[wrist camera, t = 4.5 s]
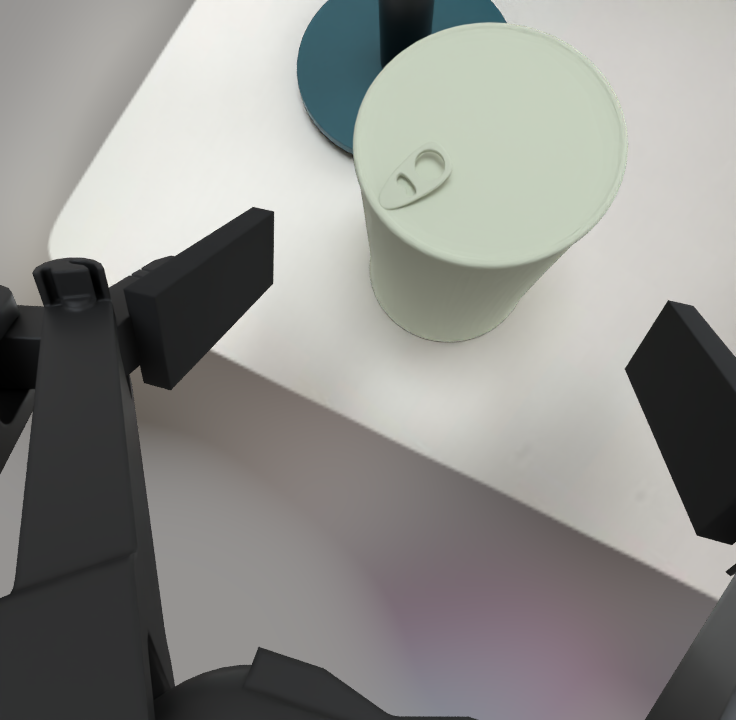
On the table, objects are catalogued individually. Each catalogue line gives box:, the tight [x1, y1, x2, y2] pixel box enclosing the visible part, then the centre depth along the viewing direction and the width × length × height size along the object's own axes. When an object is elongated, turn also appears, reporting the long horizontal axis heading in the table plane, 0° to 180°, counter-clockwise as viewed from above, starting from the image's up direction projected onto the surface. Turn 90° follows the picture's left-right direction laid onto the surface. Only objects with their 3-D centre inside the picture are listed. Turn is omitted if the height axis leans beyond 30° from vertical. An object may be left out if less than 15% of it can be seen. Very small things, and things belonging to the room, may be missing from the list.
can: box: [353, 22, 628, 342], centre depth 20 cm, size 9×9×12 cm
